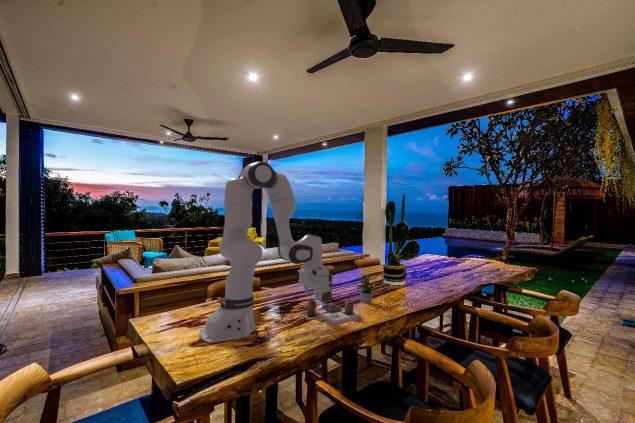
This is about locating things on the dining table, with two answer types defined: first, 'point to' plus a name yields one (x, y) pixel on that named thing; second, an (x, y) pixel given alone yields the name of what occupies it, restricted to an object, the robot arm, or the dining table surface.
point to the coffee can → (326, 295)
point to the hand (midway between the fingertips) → (313, 297)
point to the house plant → (366, 290)
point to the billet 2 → (349, 307)
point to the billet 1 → (311, 308)
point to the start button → (331, 305)
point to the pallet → (340, 317)
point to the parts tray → (312, 317)
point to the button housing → (334, 309)
